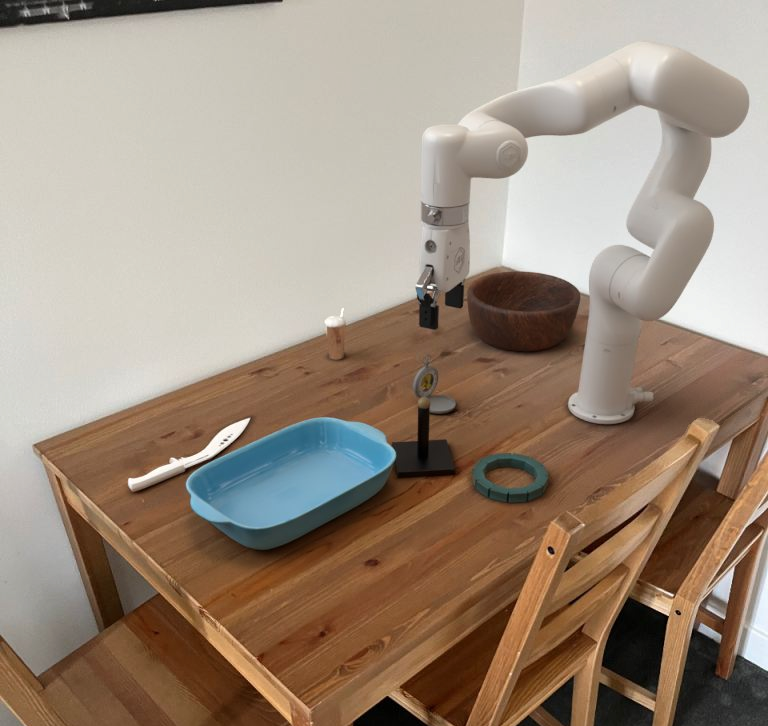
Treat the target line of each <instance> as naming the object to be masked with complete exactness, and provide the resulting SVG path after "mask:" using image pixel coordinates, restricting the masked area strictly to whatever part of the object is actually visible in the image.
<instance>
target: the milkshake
mask: <svg viewBox="0 0 768 726" xmlns="http://www.w3.org/2000/svg"><path fill="white" fill-rule="evenodd" d="M344 311H345V309H344V308H343V307H342V308H341V312H340V316H339V315H330V316H328V317H327V318H326V319H325V320H324V321H323V322H324V329H325V336H326V342H327V349H328V358H329V359H331V360H333V361H335V360H336V361H339V360H342V359H343V358H344V357H345V341H346V339H345V338H346V337H345V336H346V328H347V327H346V325H347V321H346V319H345V318H344V317H343V316H344Z"/></svg>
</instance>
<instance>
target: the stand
mask: <svg viewBox="0 0 768 726" xmlns="http://www.w3.org/2000/svg"><path fill="white" fill-rule="evenodd" d="M430 404H431V403H430V400H429V399H428V398H427V397H421V398H418V400H417V438H416V439H417V440H409V441H408V440H407V441H392V442H391V446H392V447H393V449H394V450H395V452H396V460H395V462H394V465H395V470H396V477H397V478H398V479H401V478H402V479H403V478H421V477H422V478H423V477H437V476H454V475H456V468H455V464H454V461H453V458H452V453H451V450H450V446H449V444H448V441H447V439H446V438H445V439H444V438H443V439H430V417H431V415H430V414H431V412H430Z"/></svg>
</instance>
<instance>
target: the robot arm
mask: <svg viewBox="0 0 768 726" xmlns="http://www.w3.org/2000/svg"><path fill="white" fill-rule="evenodd" d="M638 106H642V107H646V108H649V109H652V110H655V111H657V114H658V118H659V121H660V127H661V143H660V144H661V145H660V148H659V152H658V155H657V157H656V159H655V161H654V163H653V166H652V168H651V169H650V172H649V173H648V175H647V177H646V179H645V181H644V182H643V184H642V186H641V188H640V190H639V192H638V194H637V195H636V197H635V199H634V201H633V202H632V205H631V207H630V209H629V211H628V214H627V217H626V221H625V222H626V223H625V224H626V225H625V226H626V229H627V231H628V234H629V235H630V236H631V237H632V238H634V239H635V240H637V241H638V242H640V243H641V244H643V245H645V246H647V247H648V248H650V249H652V250H653V251H652V253H651V255H647V254H645V253H643V252H642V251H640V250H638V249H636V248H634V247H631V246H628V245H625V244H613V245H609V246H607V247H605V248H603V249H602V250H601V251H600V252H599V253H598V254H597V255H596V256H595V257H594V259H593V260H592V263H591V266H590V269H589V274H588V275H589V276H588V294H589V308H588V309H589V311H588V319H587V320H588V321H587V326H586V335H585V340H584V341H585V342H584V348H583V354H582V362H581V367H580V375H579V383H578V391H576V392H574V393H572V395H570V397H569V398H568V401H567V405H568V406H567V407H568V410H569V411H570V412H571V414H572V415H574V416H575V417H576V418H578V419H580V420H583V421H585V422H588V423H592V424H598V425H616V424H621V423H624V422H626V421H629V420H630V419H631V418H633V416H634V413H635V409H636V408H635V405H636V404H637V403H641V402H642V403H648V402H653V400H654V393H653V392H652V391H643V388H642V387H639V386H637V387H631V383H632V378H633V375H634V373H633V372H634V368H635V363H636V357H637V352H638V345H639V340H640V336H641V330H642V321H643V322H654V321H658V320H660V319H662V318H663V317H664V316H666V315H667V314H668V313H669V312H670V311H671V310H672V309H673V307H674V306H675V305H676V304H677V302H678V301H679V299H680V298H681V296H682V294H683V292H684V290H685V289H686V287H687V285H688V284H689V282H690V280H691V279H692V277H693V276H694V273H695V272H696V270H697V269H698V267H699V266H700V263H701V262H702V260H703V258H704V256H705V255H706V253H707V251H708V249H709V247H710V246H711V242H712V239H713V236H714V231H715V220H714V215H713V213H712V211H711V210H710V208H709V207H708V206H706V205H705V204H704V203H703V202H700V201H698V200H697V199H695V196H696V195H697V193H698V190H699V189H700V186H701V184H702V182H703V180H704V179H705V177H706V174H707V172H708V169H709V167H710V163H711V159H712V139H721V138H725V137H727V136H729V135H731V134H733V133H734V132H735V131H736V130H738V129H739V128H740V127H741V125H743V123H744V121H745V120H746V118H747V116H748V113H749V109H750V95H749V92H748V90H747V87H746V85H745V84H744V83H743V82H742V81H741V80H740V79H738V78H737V77H735V76H733V75H731V74H730V73H728V72H726V71H724V70H722V69H720V68H718V67H717V66H715V65H713V64H711V63H709V62H708V61H706V60H704V59H702V58H700V57H698V56H697V55H696V54H695V55H694V54H693V53H691V52H689V51H687V50H685V49H683V48H680V47H677V46H673V45H668V44H664V43H660V42H659V43H658V42H654V41H650V40H649V41H648V40H640V41H639V40H638V41H635V42H632V43H629V44H627V45H626V46H623V47H622V48H620V49H617V50H616V51H614V52H612V53H610V54H607V55H605V56H604V57H601V58H600V59H598V60H596V61H594V62H592V63H590V64H588V65H586V66H584V67H583V68H580V69H578V70H576V71H574V72H573V73H570V74H568V75H566V76H564V77H561V78H558V79H553V80H550V81H545V82H542V83H540V84H536V85H533V86H529V87H525V88H521V89H518V90H515V91H511V92H508V93H506V94H503V95H501V96H498V97H497V98H495V99H492V100H490V101H488V102H486V103H484V104H482V105H481V106H479V107H477V108H475V109H473V110H471V111H469V112H468V113H466V115H465V116H463V117H462V118H461V119H460V120H459V121H458V123H457V124H453V123H452V124H451V123H450V124H449V123H443V124H435V125H431V126H429V127H427V128H426V129H425V130H424V131H423V133H422V137H421V161H420V163H421V164H420V165H421V166H420V168H421V169H420V171H421V174H420V175H421V176H420V224H421V225H422V228H421V229H422V230H421V238H420V245H419V248H420V249H419V259H418V260H419V261H418V281H416V284H415V291H416V299H417V304H418V305H419V306H418V307H419V308H418V309H419V310H418V311H419V312H418V326H419V327H420V328H424V329H428V330H432V331H433V330H434V331H436V330H437V329H439V315H440V313H439V312H440V305H437V304H438V301H439V298H440V296H441V295H440V294H441V292H442V293H444V305H445V306H446V307H450V308H456V309H462V308H463V307H464V301H465V299H464V298H465V297H464V295H465V284H466V278H468V276H469V274H470V265H471V260H470V259H471V239H470V237H471V236H470V225H469V224H470V206H471V205H470V204H471V183H472V179H473V178H475V179H477V178H478V179H494V180H497V179H505V178H510V177H512V176H514V175H515V174H517V173H518V172H520V170H521V169H522V168H523V167H524V165H525V163H526V162H527V159H528V157H529V156H528V155H529V145H528V142H527V139H529V138H533V137H540V136H555V137H556V136H557V137H560V136H561V137H564V136H566V137H567V136H574V135H581V134H584V133H587V132H589V131H591V130H593V129H595V128H597V127H598V126H601V125H602V124H604V123H606V122H607V121H609V120H613V119H614V118H616V117H617V116H620V115H622V114H624V113H626V112H627V111H630V110H632V109H633V108H635V107H638ZM428 292H433V295H431V294H430V293H428Z"/></svg>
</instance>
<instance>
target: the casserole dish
mask: <svg viewBox="0 0 768 726" xmlns="http://www.w3.org/2000/svg"><path fill="white" fill-rule="evenodd" d="M395 460H396V452H395V450H394V449H393V447H392V445H391V444H389V443H388V441H387V436H386V434H385V433H384V432H383V431H381V430H380V429H377V427H374V426H371V425H370V424H368V423H364V422H360V421H350V420H349V421H347V420H344V419H340V418H336V417H328V416H327V417H325V416H323V417H313V418H308V419H306V420H303V421H299V422H297V423H294V424H291V425H289V426H287V427H283V428H281V429H279V430H277V431H275V432H273V433H270V434H268V435H266V436H263V437H261V438H259V439H257V440H255V441H253V442H251V443H248V444H246V445H244V446H241V447H240V448H239V447H238V448H237V449H235V450H233V451H230V452H229V453H228V452H227V454H225V455H222V456H220V457H218V458H216V459H214V460H212V461H210V462H208V463H206V464H204V465H202V466H201V467H199V468H198V469H196V470H195V471H193V472H192V473H191V474H190V475H189V476H188V478H187V479H186V482H185V489H186V490H187V493H188V494H189V496H190V500H189V501H190V503H189V504H190V508H191V510H192V511H193V512H194V513H195V514H196V515H197V516H199V517H200V518H201V519H203V520H205V521H207V522H209V523H210V524H212V525H213V526H214V527H215V528H217V529H218V530H219V531H220V532H222V533H223V534H224V535H226V536H227V537H229V539H232V540H233V541H235V542H237V543H238V544H240V545H242V546H243V547H245V548H249V549H251V550H258V551H266V550H272V549H275V548H278V547H281V546H283V545H286V544H288V543H291V542H292V541H295V540H297V539H299V538H301V537H303V536H305V535H306V534H308V533H310V532H312V531H314V530H316V529H317V528H319V527H321V526H323V525H325V524H327V523H328V522H330V521H332V520H334V519H337V518H338V517H340V516H341V515H343V514H346V513H347V512H349V511H350V510H353V509H354V508H356V507H358V506H359V505H361V504H363V503H365V502H366V501H368V500H370V499H371V498H372V497H373V496H375V495H376V494H377V493H378V492H380V491H381V490H382V489H383V487H384V486H385V485H386V482H387V481H388V479H389V477H390V474H391V472H392V470H393V466H394V465H395Z"/></svg>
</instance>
